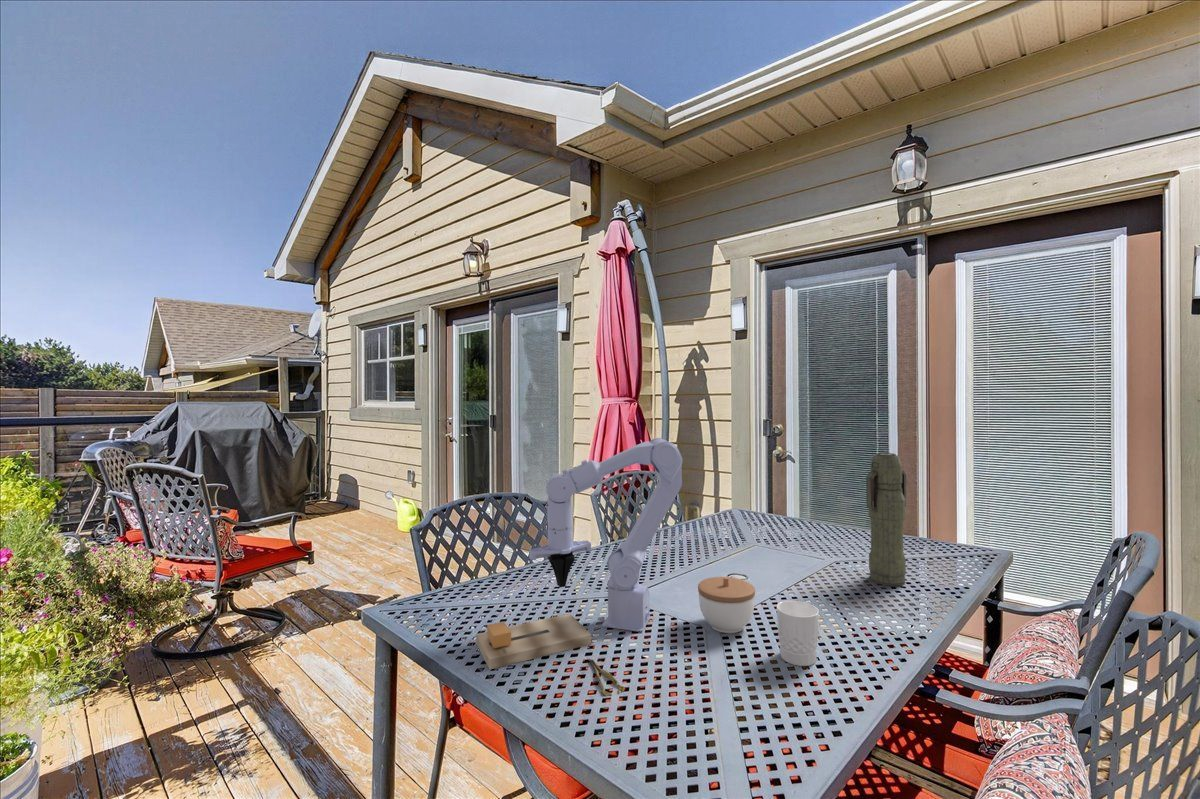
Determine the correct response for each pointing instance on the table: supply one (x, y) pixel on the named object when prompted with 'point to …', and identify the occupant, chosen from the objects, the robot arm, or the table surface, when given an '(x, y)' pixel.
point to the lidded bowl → (726, 603)
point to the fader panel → (535, 640)
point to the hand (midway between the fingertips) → (561, 585)
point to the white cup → (798, 632)
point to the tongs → (607, 677)
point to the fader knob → (499, 634)
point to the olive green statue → (886, 519)
